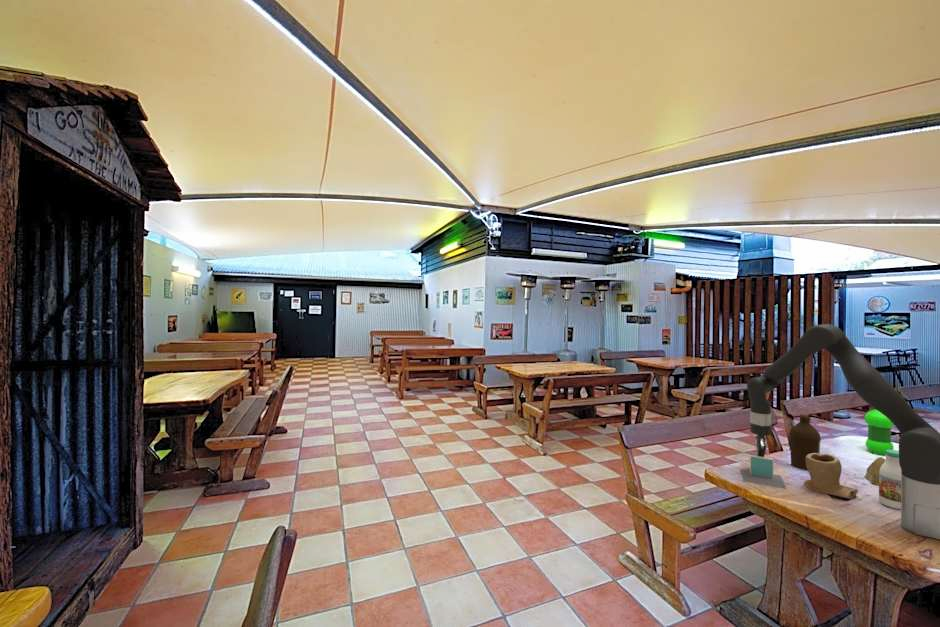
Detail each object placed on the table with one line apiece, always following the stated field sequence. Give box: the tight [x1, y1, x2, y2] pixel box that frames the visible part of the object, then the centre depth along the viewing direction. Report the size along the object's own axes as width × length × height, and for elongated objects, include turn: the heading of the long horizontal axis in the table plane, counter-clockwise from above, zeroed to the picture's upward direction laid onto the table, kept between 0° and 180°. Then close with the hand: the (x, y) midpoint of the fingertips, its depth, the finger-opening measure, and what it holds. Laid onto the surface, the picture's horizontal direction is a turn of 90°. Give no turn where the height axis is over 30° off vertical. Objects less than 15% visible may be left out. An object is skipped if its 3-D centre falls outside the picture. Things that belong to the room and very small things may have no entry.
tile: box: [749, 454, 774, 478], centre depth 164 cm, size 2×8×8 cm, turn 59°
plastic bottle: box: [864, 408, 895, 456], centre depth 190 cm, size 10×10×25 cm
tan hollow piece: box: [803, 453, 859, 500], centre depth 150 cm, size 15×12×15 cm
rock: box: [864, 456, 886, 486], centre depth 161 cm, size 11×9×10 cm
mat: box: [740, 468, 787, 490], centre depth 161 cm, size 14×14×1 cm
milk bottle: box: [878, 449, 901, 510], centre depth 141 cm, size 8×8×20 cm
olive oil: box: [788, 413, 822, 472], centre depth 172 cm, size 11×11×25 cm
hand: (760, 461), depth 167 cm, fingers closed
